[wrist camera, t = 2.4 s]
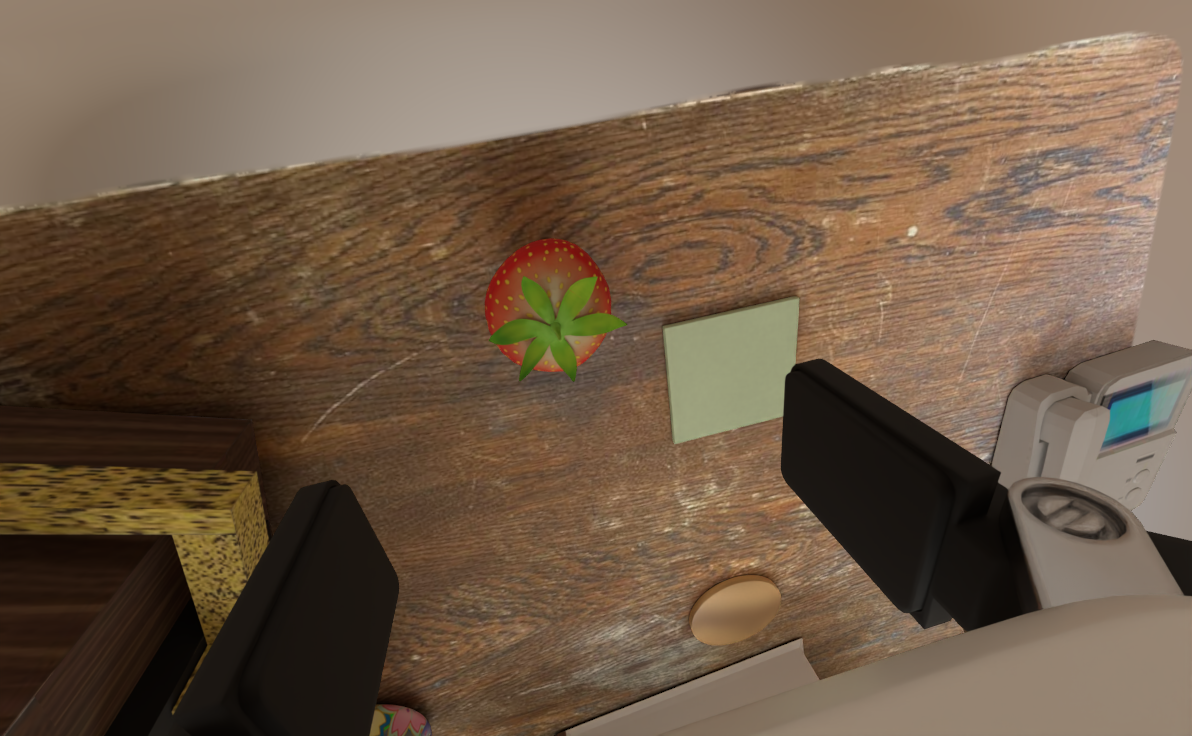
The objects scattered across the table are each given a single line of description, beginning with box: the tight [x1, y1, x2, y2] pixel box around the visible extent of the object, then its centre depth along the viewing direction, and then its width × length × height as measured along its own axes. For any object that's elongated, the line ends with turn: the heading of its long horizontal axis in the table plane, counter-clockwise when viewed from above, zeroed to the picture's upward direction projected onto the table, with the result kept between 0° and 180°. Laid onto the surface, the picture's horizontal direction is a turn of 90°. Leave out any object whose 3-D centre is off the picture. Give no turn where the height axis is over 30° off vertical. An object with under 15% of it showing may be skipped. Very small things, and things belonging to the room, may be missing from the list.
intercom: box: [992, 340, 1192, 511], centre depth 37 cm, size 13×4×25 cm
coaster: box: [689, 575, 781, 645], centre depth 38 cm, size 8×8×1 cm
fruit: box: [485, 238, 627, 382], centre depth 19 cm, size 5×5×8 cm
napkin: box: [662, 296, 800, 444], centre depth 27 cm, size 8×8×1 cm
